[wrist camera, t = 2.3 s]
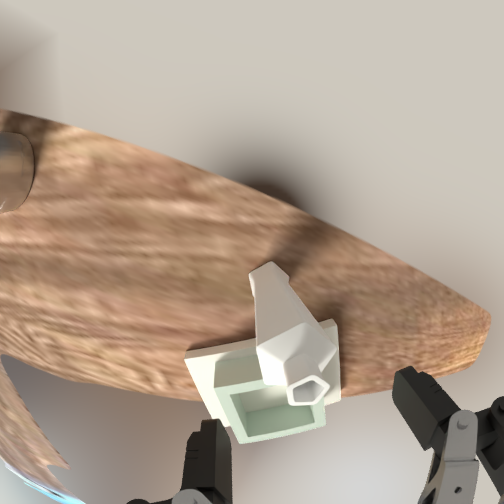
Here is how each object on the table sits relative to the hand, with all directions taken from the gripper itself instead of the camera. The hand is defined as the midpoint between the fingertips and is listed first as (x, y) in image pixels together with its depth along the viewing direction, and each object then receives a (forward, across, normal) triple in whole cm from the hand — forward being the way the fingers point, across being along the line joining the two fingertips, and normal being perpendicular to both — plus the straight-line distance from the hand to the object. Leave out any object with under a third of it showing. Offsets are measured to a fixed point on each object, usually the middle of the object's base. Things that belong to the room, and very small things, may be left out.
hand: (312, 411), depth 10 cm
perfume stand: (+16, +2, +12) cm, 20 cm away
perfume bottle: (+17, 0, 0) cm, 17 cm away
